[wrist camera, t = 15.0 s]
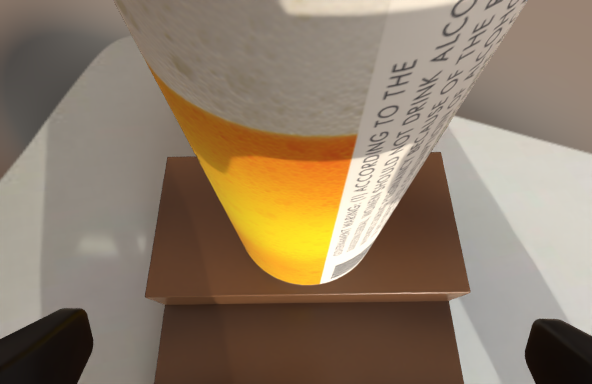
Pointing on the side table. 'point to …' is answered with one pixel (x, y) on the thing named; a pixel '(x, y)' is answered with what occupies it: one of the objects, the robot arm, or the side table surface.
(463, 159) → the side table surface
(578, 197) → the side table surface
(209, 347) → the riser
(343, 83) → the beer can
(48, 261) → the side table surface
